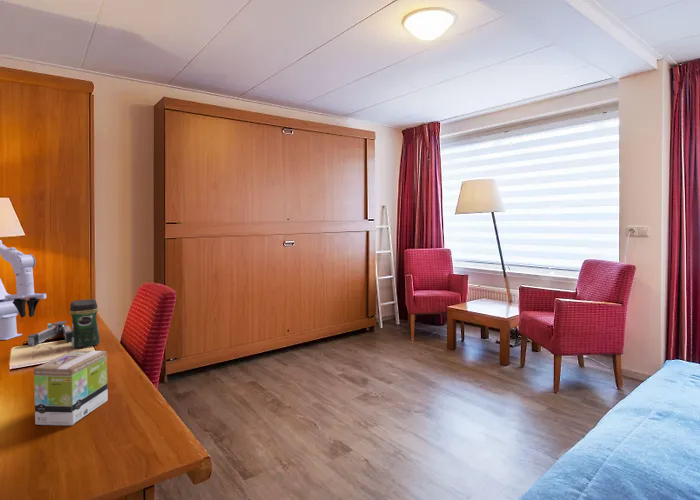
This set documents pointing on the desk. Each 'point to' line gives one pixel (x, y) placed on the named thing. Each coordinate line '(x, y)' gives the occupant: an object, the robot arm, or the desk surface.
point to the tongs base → (65, 332)
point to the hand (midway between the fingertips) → (27, 316)
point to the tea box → (70, 387)
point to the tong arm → (44, 334)
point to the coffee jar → (84, 323)
